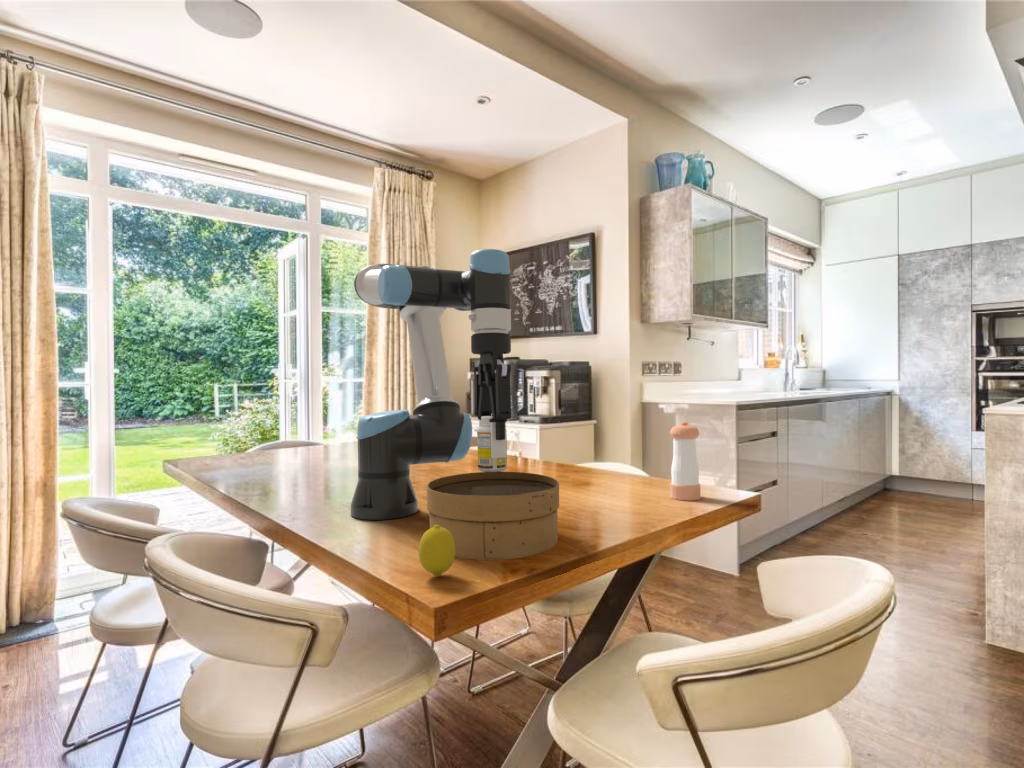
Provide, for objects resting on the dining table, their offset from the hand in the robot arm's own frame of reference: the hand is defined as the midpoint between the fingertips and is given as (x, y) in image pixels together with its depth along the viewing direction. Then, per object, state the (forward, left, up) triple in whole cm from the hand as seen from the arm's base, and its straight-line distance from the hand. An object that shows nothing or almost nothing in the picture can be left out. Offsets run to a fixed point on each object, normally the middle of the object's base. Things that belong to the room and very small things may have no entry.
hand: (492, 455), depth 103 cm
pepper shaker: (-13, +57, -16) cm, 61 cm away
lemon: (+15, -15, -16) cm, 27 cm away
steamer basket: (0, 0, -16) cm, 16 cm away
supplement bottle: (0, 0, -3) cm, 3 cm away
